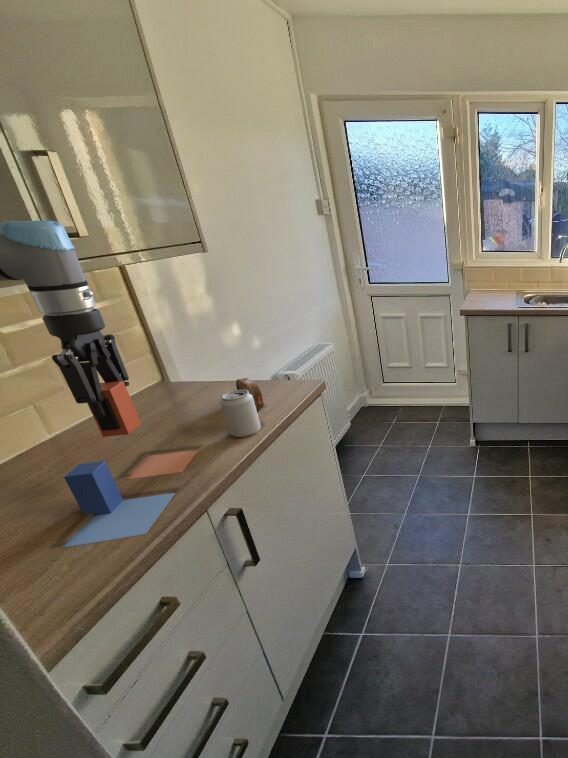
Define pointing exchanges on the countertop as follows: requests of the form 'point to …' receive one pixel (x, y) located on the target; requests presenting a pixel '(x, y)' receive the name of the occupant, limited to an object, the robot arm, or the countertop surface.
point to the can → (240, 413)
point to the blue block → (94, 488)
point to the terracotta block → (119, 408)
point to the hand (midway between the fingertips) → (119, 422)
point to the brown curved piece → (251, 391)
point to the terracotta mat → (163, 464)
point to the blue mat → (122, 521)
